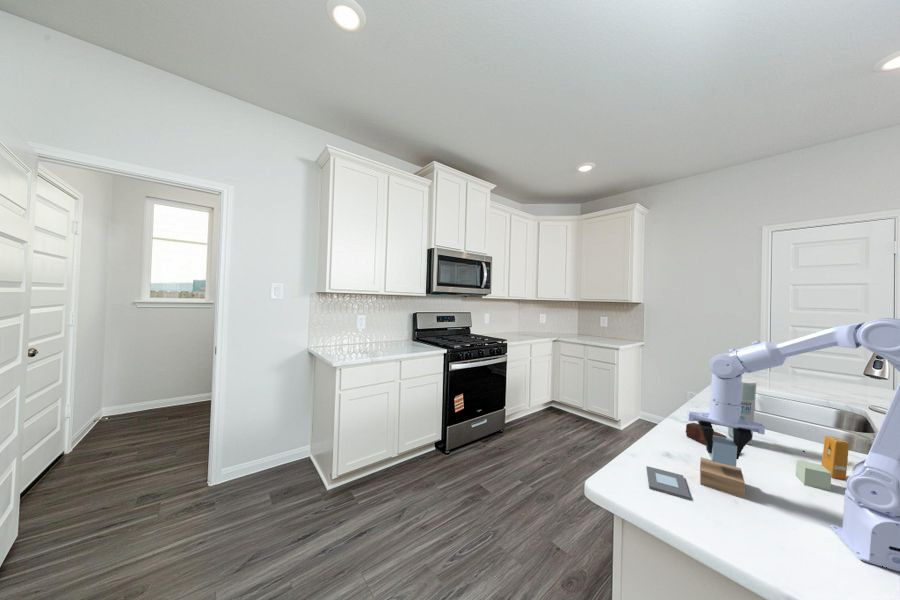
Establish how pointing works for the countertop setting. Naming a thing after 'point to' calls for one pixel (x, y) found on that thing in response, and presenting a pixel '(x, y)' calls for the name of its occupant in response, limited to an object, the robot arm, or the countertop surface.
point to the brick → (698, 433)
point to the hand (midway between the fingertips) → (722, 454)
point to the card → (667, 482)
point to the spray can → (746, 404)
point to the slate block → (723, 451)
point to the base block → (722, 477)
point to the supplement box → (835, 456)
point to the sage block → (813, 475)
